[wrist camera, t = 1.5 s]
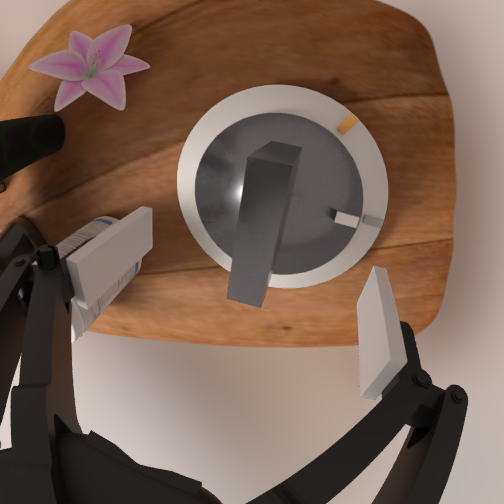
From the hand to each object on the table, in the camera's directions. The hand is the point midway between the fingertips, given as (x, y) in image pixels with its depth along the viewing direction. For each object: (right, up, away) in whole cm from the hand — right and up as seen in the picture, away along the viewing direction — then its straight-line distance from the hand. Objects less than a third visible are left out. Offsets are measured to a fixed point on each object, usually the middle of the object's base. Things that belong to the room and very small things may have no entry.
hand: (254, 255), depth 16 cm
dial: (+2, +5, +9) cm, 11 cm away
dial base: (+3, +6, +11) cm, 13 cm away
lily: (-15, +21, +8) cm, 27 cm away
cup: (-28, +17, +14) cm, 35 cm away
